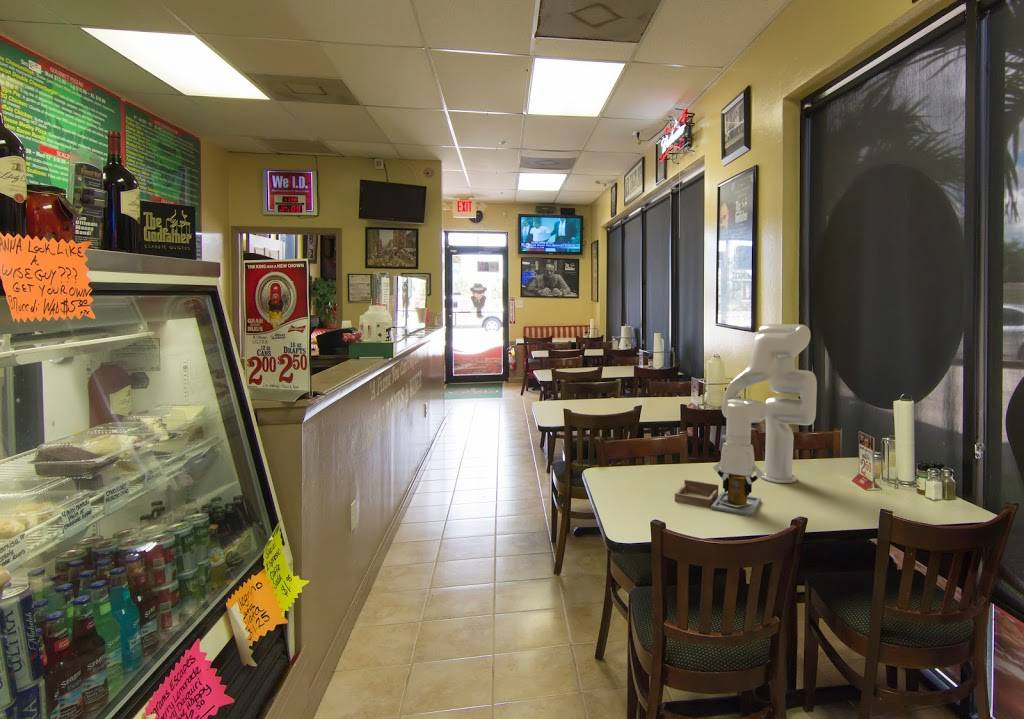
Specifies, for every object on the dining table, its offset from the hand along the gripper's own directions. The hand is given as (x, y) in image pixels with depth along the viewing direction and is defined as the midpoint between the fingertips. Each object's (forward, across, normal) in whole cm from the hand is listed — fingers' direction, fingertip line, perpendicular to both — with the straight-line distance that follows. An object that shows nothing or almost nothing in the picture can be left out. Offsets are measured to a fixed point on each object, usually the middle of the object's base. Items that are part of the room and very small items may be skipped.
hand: (737, 492), depth 182 cm
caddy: (+4, -13, 0) cm, 14 cm away
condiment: (+4, 0, 0) cm, 4 cm away
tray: (+4, 0, 0) cm, 4 cm away
